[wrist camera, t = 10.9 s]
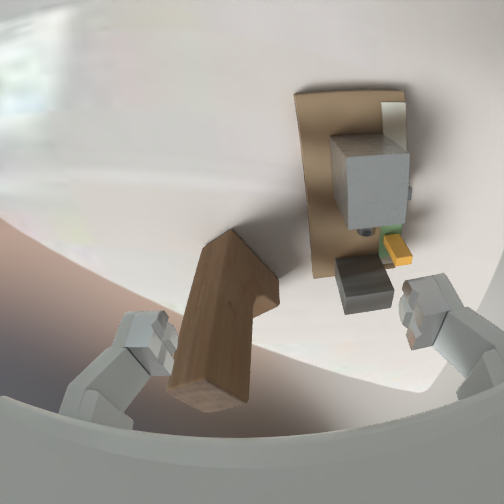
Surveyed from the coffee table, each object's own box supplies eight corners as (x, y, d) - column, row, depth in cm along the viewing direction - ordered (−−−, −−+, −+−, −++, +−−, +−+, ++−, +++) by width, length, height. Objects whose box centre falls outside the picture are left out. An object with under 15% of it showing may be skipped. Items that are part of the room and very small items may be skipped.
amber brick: (384, 235, 29) (396, 258, 26) (399, 233, 29) (412, 255, 26) (383, 243, 30) (395, 266, 27) (398, 241, 30) (411, 263, 26)
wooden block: (279, 278, 36) (284, 421, 21) (250, 294, 38) (241, 431, 23) (231, 226, 32) (206, 379, 17) (201, 247, 34) (162, 392, 19)
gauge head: (329, 136, 24) (346, 157, 19) (406, 132, 23) (437, 153, 18) (334, 218, 29) (347, 254, 24) (402, 211, 28) (426, 244, 23)
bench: (293, 94, 23) (304, 105, 17) (398, 89, 22) (438, 103, 16) (312, 270, 35) (320, 318, 29) (391, 260, 34) (412, 303, 28)
